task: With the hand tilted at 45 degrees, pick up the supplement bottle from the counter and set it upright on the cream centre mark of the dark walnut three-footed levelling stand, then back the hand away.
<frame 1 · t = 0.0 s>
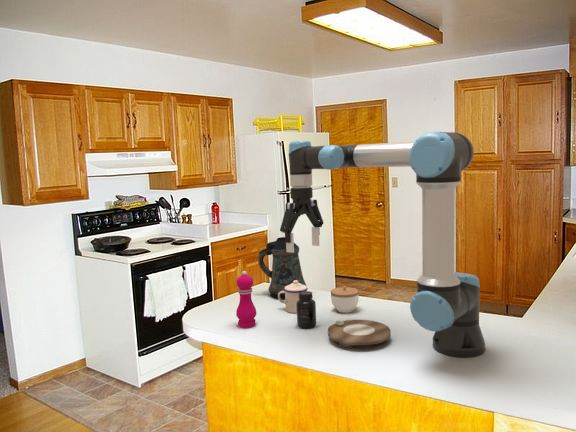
hand: (303, 248, 170), 28 cm above the worktop, tool pointing down, fingers open, 13 cm apart
beer stein: (285, 295, 214), on the worktop
levelling stand: (359, 339, 161), on the worktop
pepper mill: (247, 325, 178), on the worktop
supplement bottle: (306, 326, 175), on the worktop
lidded jar: (345, 310, 191), on the worktop
teacup with lid: (293, 310, 194), on the worktop
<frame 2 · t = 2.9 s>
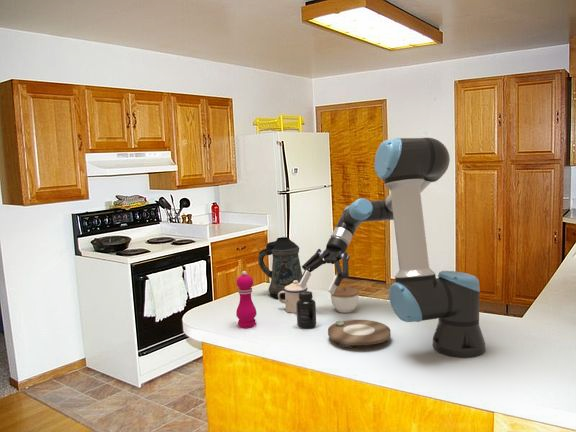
hand: (315, 289, 180), 11 cm above the worktop, tool tilted 45°, fingers open, 13 cm apart
nothing on the worktop moved.
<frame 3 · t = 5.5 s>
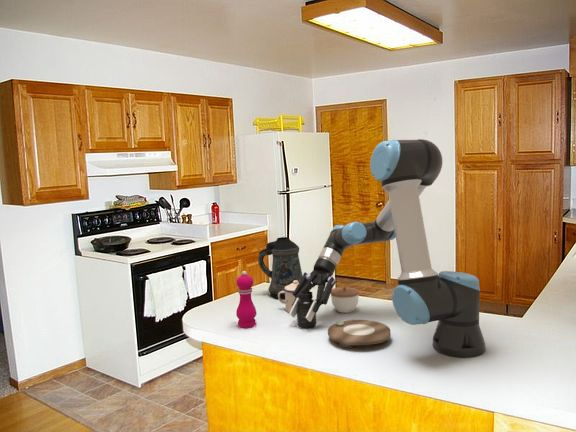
hand: (299, 317, 172), 4 cm above the worktop, tool tilted 45°, fingers closed on supplement bottle, 7 cm apart
supplement bottle: (306, 326, 175), on the worktop, touching gripper
everything else where it was.
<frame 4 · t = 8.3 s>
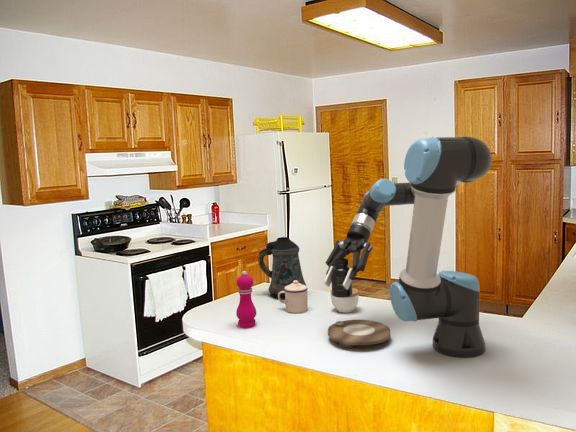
hand: (335, 285, 162), 17 cm above the worktop, tool tilted 45°, fingers closed on supplement bottle, 7 cm apart
supplement bottle: (342, 295, 165), point 13 cm above the worktop, touching gripper
everything else where it was.
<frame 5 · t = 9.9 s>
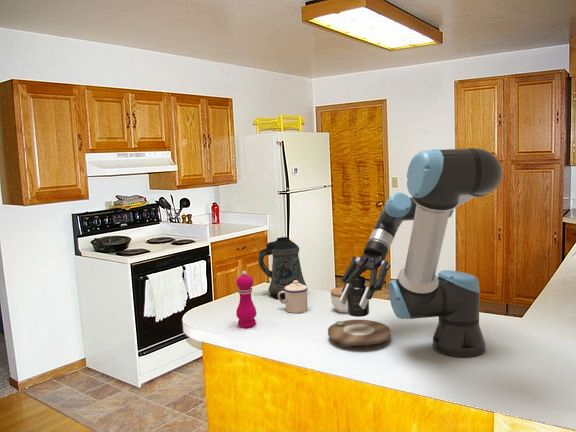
hand: (351, 304, 157), 12 cm above the worktop, tool tilted 45°, fingers closed on supplement bottle, 7 cm apart
supplement bottle: (358, 314, 160), point 8 cm above the worktop, touching gripper
everything else where it was.
when the fingers open (9 cm above the worktop, at t = 11.1 s): supplement bottle drops 1 cm, resting on levelling stand.
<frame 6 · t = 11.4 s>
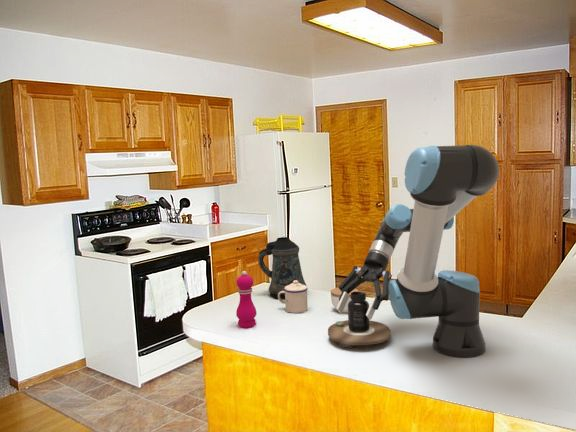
hand: (353, 314, 157), 9 cm above the worktop, tool tilted 45°, fingers open, 10 cm apart
supplement bottle: (359, 330, 160), point 3 cm above the worktop, touching levelling stand
everything else where it was.
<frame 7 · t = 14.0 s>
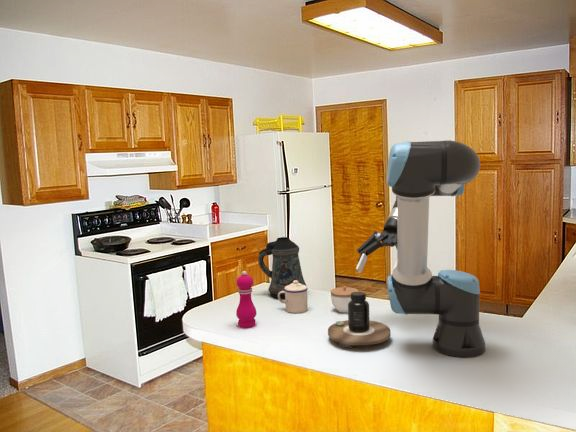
hand: (375, 273, 166), 20 cm above the worktop, tool tilted 45°, fingers open, 13 cm apart
nothing on the worktop moved.
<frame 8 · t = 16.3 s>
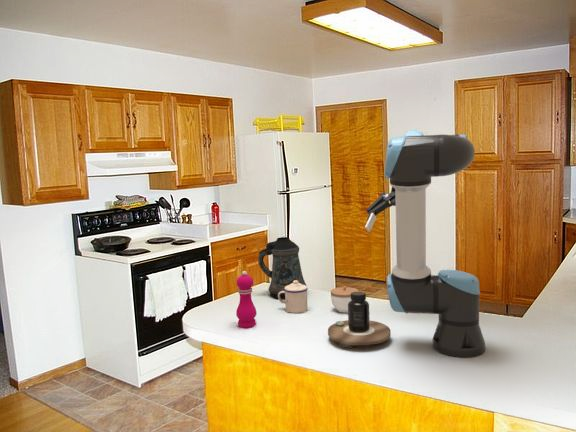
hand: (383, 230, 173), 33 cm above the worktop, tool tilted 45°, fingers open, 13 cm apart
nothing on the worktop moved.
at the end: supplement bottle inside the target area on the levelling stand (0.1 cm from its centre), point 3.1 cm above the levelling stand's base; supplement bottle tilted 0°; the gripper is holding nothing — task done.
